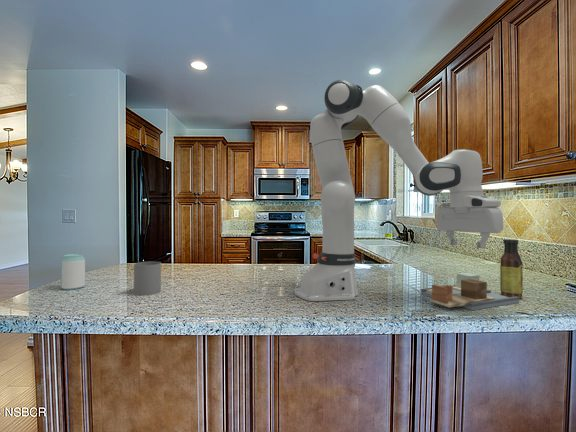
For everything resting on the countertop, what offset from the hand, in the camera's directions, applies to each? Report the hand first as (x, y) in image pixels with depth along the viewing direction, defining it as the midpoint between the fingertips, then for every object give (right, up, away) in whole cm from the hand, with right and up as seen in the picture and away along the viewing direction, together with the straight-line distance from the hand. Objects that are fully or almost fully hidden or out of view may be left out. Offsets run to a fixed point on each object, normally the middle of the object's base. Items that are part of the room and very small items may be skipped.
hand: (466, 246), depth 93 cm
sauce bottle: (+21, -19, +10) cm, 30 cm away
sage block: (+9, -16, +14) cm, 24 cm away
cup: (-104, -17, +11) cm, 106 cm away
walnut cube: (+4, -16, +3) cm, 17 cm away
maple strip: (-1, -17, +1) cm, 17 cm away
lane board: (+5, -18, +8) cm, 21 cm away
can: (-133, -17, +15) cm, 135 cm away
